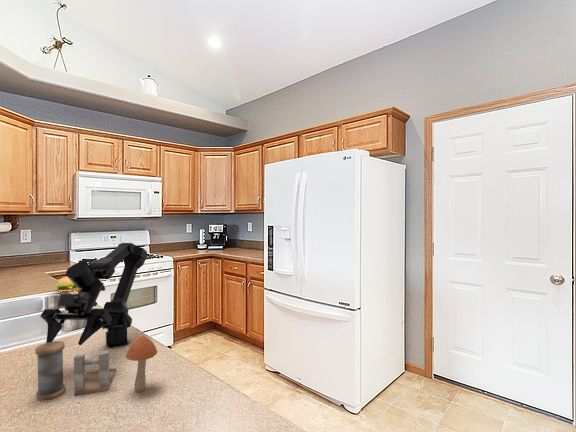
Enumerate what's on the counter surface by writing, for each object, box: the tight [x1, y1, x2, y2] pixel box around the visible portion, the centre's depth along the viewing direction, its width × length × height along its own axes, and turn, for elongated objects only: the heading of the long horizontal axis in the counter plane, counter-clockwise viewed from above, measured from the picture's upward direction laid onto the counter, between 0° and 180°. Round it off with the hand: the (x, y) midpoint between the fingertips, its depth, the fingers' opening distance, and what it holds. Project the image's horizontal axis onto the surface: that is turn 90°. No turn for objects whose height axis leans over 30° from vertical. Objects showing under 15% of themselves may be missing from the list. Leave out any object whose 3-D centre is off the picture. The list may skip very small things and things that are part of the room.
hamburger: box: [55, 276, 78, 292], centre depth 203 cm, size 12×12×9 cm
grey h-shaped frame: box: [73, 350, 117, 397], centre depth 94 cm, size 11×8×10 cm
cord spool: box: [34, 340, 66, 402], centre depth 88 cm, size 6×6×13 cm
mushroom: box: [125, 334, 158, 393], centre depth 90 cm, size 8×8×15 cm
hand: (63, 344), depth 93 cm, fingers open, 9 cm apart
